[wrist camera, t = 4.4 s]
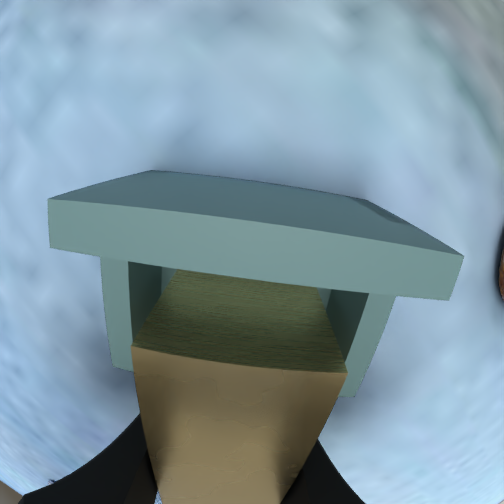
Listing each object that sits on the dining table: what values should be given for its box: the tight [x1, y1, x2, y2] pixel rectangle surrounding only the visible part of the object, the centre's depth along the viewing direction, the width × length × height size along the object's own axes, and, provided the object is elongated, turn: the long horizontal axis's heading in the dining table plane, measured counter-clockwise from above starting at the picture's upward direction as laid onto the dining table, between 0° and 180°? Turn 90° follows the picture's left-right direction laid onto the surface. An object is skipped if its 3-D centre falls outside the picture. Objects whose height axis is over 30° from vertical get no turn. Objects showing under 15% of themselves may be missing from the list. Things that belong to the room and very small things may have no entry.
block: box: [131, 269, 348, 504], centre depth 10 cm, size 16×4×4 cm, turn 172°
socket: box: [48, 170, 464, 397], centre depth 7 cm, size 5×7×5 cm
